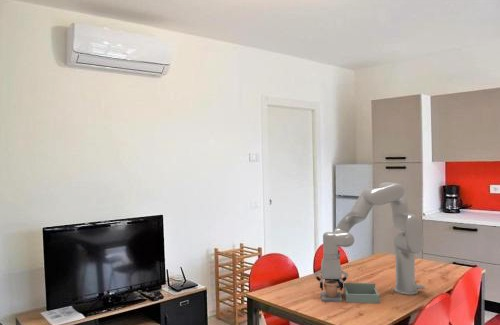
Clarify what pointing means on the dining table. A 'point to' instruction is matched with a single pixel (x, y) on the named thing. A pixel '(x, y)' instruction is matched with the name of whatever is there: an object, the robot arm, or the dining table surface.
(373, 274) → the dining table surface
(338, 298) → the slate tile
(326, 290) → the pot
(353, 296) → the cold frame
